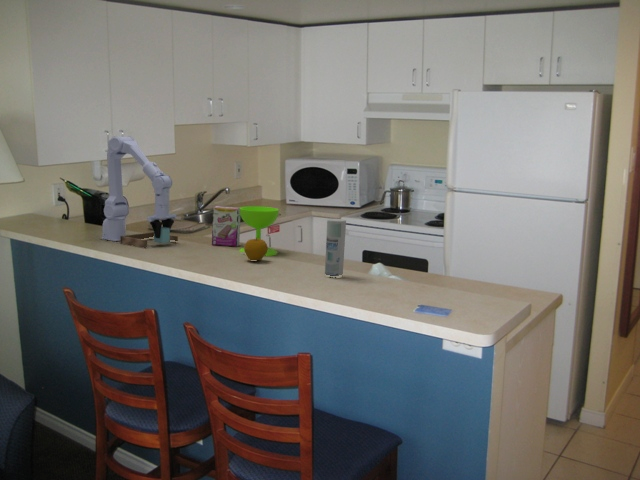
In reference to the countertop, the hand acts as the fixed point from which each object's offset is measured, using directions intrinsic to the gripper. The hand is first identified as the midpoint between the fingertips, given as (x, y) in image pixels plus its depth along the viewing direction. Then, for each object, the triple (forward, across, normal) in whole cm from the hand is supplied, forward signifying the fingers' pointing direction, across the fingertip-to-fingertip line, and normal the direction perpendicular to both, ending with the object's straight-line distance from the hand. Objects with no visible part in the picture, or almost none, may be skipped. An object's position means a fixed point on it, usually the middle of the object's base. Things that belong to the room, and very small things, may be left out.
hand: (161, 237), depth 275 cm
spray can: (+4, +2, -84) cm, 84 cm away
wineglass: (+4, +18, -37) cm, 41 cm away
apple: (+4, +3, -48) cm, 48 cm away
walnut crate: (+3, 0, +7) cm, 8 cm away
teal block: (+2, 0, 0) cm, 2 cm away
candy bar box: (+4, +21, -17) cm, 27 cm away
